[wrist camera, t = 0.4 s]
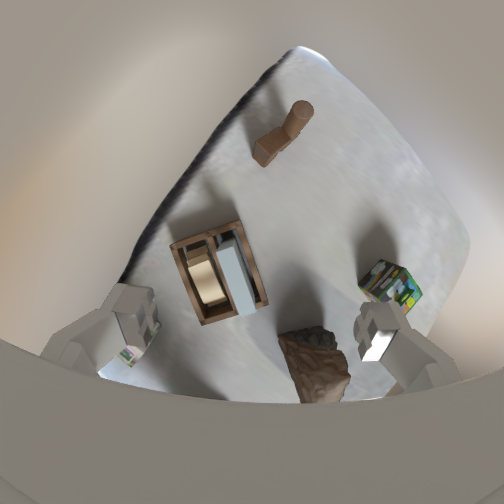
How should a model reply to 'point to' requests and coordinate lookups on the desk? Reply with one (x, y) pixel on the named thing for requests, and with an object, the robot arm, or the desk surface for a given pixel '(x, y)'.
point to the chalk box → (391, 285)
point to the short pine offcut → (206, 280)
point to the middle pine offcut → (199, 259)
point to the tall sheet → (236, 276)
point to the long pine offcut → (204, 249)
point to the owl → (315, 364)
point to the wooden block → (283, 133)
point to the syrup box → (136, 349)
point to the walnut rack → (190, 286)
